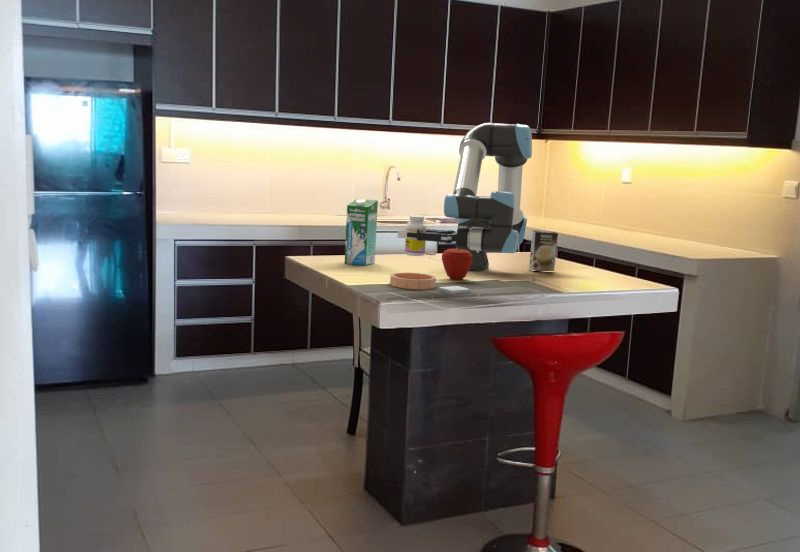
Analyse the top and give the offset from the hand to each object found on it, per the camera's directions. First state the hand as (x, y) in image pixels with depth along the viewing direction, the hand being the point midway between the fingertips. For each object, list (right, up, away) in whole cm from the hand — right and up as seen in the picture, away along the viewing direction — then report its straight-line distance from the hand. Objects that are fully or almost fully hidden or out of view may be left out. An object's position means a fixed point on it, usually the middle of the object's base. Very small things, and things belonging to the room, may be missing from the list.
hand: (401, 232), depth 255 cm
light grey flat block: (+17, -19, -6) cm, 26 cm away
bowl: (+4, -18, +1) cm, 18 cm away
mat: (+17, -20, -6) cm, 27 cm away
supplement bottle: (+4, -8, 0) cm, 9 cm away
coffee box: (+56, -13, +55) cm, 80 cm away
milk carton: (-16, -9, +49) cm, 53 cm away
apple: (+19, -16, +20) cm, 33 cm away
